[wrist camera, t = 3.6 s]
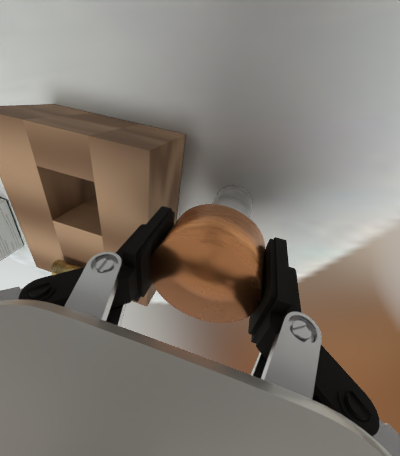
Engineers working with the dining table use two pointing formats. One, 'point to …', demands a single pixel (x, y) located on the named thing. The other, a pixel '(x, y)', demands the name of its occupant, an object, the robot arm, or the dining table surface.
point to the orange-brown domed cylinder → (212, 260)
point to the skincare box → (8, 232)
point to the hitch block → (85, 179)
